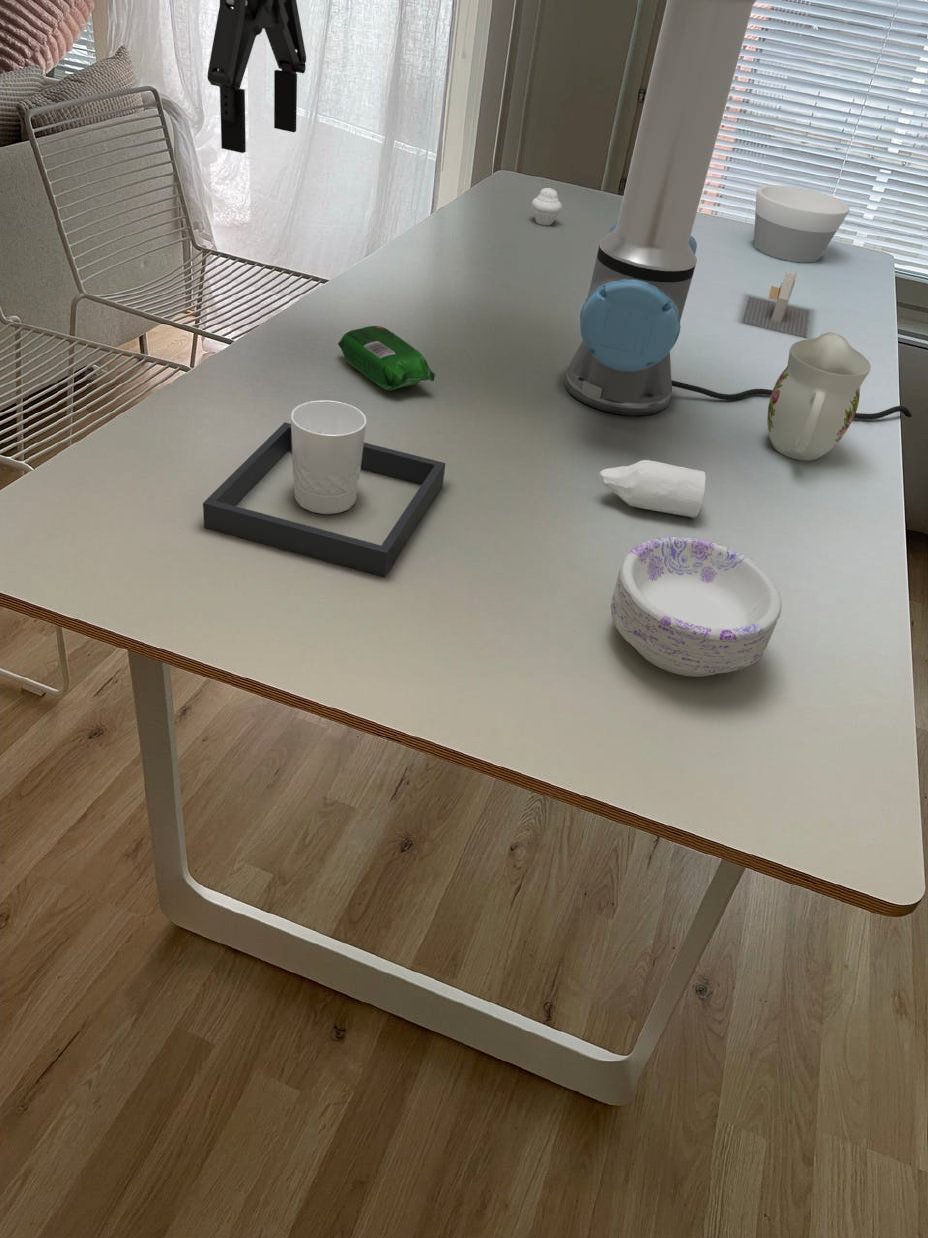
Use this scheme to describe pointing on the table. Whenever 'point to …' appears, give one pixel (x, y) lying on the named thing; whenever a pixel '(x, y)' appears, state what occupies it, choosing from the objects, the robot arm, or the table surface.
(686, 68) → the robot arm
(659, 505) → the white tapered cylinder
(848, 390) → the pitcher
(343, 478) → the white cup
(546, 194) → the muffin
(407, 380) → the snack package
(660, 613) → the paper bowls
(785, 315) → the architectural model
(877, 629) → the table surface
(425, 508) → the dark grey square frame
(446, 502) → the table surface
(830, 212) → the bowl
